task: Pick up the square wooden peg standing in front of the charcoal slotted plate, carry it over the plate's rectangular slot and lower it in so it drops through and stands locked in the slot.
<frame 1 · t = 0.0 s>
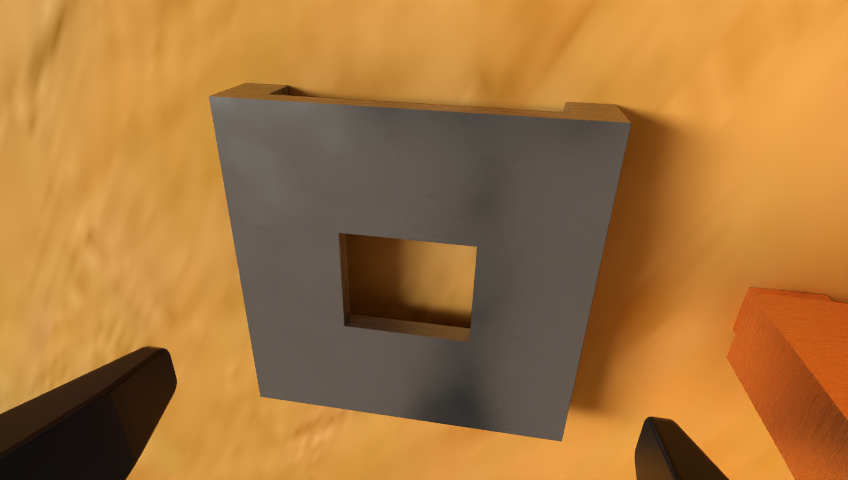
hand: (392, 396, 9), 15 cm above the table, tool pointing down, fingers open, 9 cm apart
square wooden peg: (777, 312, 23), on the table
slotted plate: (417, 256, 25), on the table
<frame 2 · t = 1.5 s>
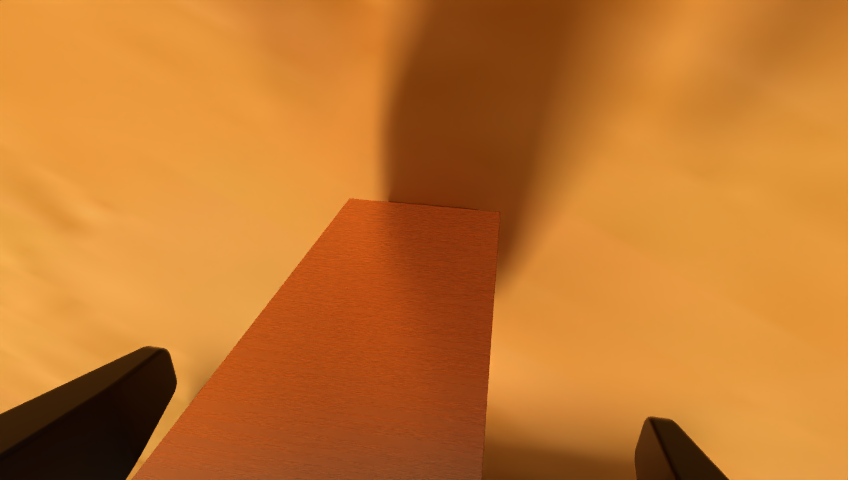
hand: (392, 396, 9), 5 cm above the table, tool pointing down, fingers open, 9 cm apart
square wooden peg: (430, 258, 14), on the table
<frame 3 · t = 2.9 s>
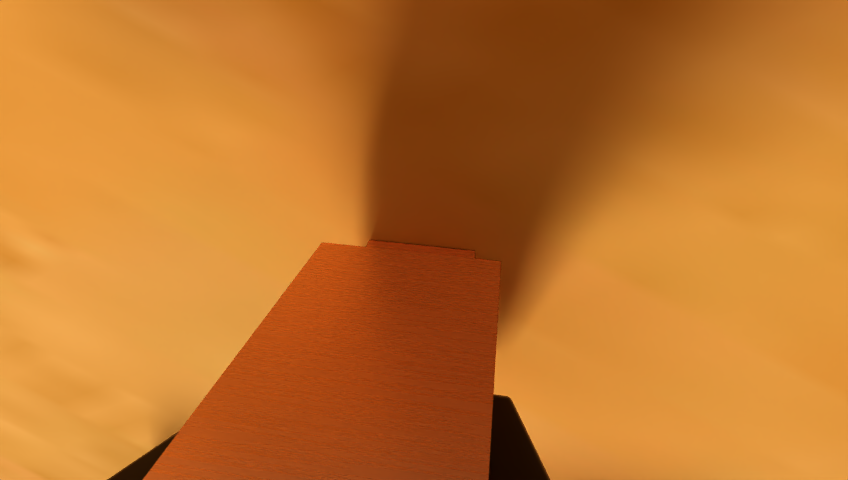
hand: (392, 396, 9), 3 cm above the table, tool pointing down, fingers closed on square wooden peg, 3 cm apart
square wooden peg: (419, 304, 12), on the table, touching gripper
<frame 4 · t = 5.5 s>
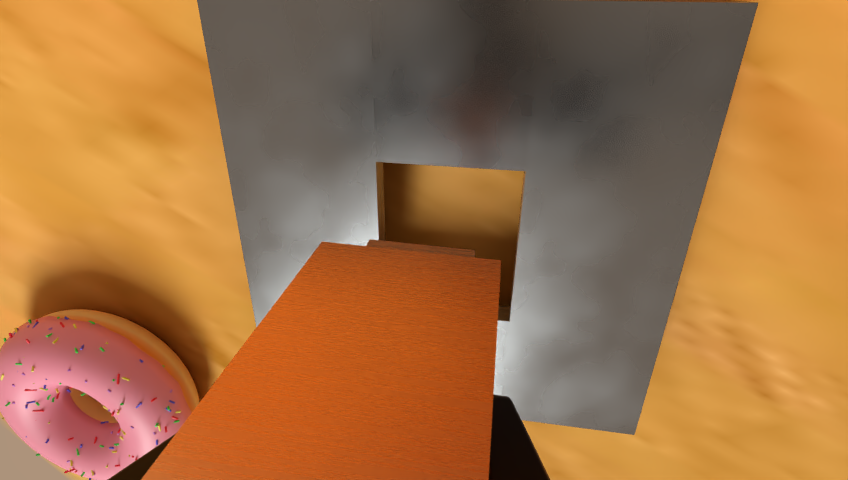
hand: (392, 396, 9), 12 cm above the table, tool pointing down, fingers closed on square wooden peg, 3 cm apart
square wooden peg: (419, 303, 12), point 9 cm above the table, touching gripper
doughnut: (127, 371, 29), on the table
slotted plate: (455, 212, 20), on the table
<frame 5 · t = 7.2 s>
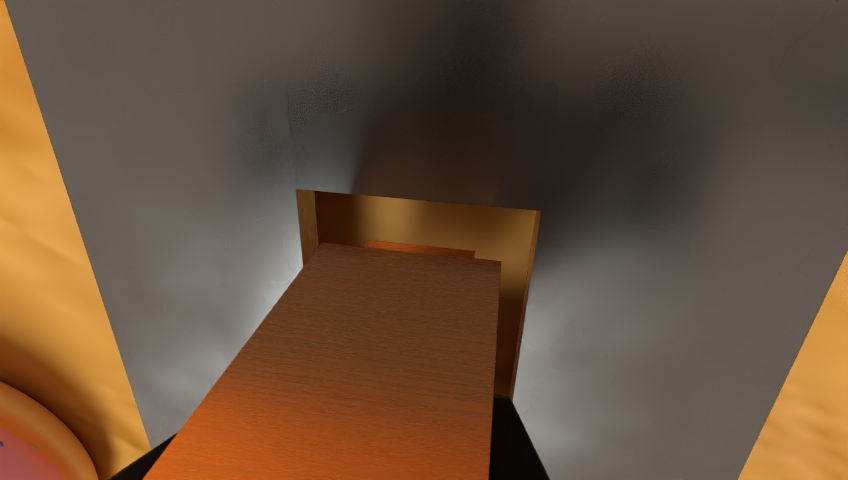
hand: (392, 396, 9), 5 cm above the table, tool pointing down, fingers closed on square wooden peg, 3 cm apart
square wooden peg: (419, 304, 12), point 2 cm above the table, touching gripper
doughnut: (10, 438, 22), on the table
slotted plate: (431, 257, 14), on the table
when the fingers open (4 cm above the table, at t = 8.5 s): square wooden peg drops 1 cm, on the table.
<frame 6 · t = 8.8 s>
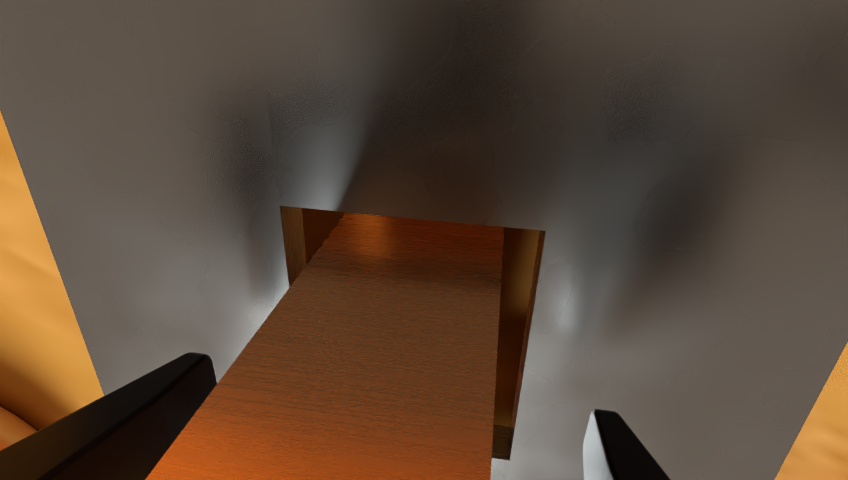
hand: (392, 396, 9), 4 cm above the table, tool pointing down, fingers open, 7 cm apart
square wooden peg: (430, 273, 13), on the table
slotted plate: (428, 273, 13), on the table
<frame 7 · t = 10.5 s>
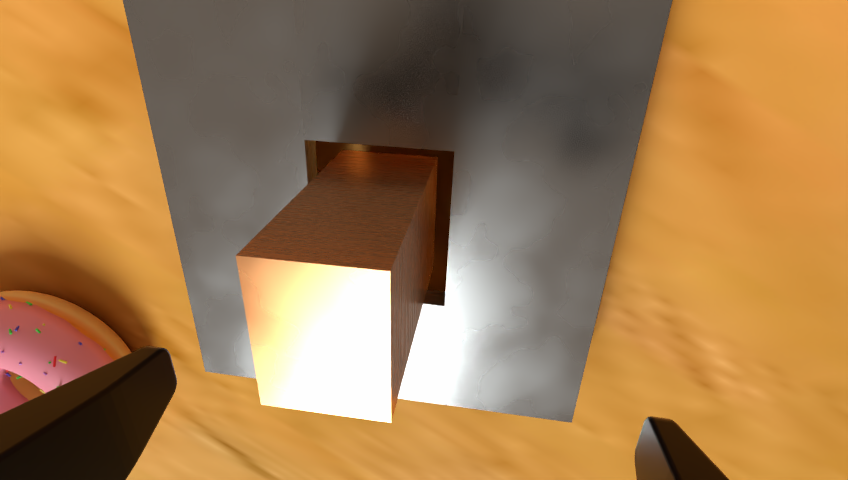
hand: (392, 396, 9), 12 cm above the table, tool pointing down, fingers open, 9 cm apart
square wooden peg: (397, 195, 20), on the table
doughnut: (72, 355, 28), on the table
slotted plate: (395, 196, 20), on the table
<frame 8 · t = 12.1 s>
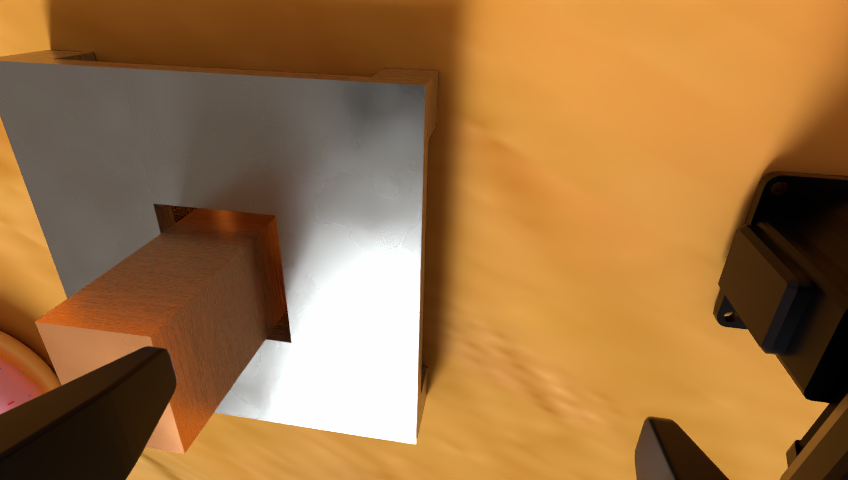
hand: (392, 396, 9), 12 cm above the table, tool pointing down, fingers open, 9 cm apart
square wooden peg: (261, 242, 23), on the table
doughnut: (6, 375, 31), on the table
slotted plate: (259, 243, 23), on the table
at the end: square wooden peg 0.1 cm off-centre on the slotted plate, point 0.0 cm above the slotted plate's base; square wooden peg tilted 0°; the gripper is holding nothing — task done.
